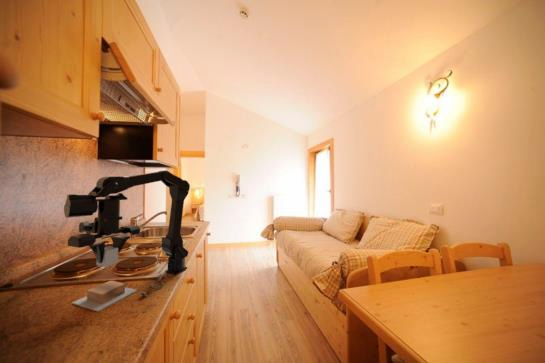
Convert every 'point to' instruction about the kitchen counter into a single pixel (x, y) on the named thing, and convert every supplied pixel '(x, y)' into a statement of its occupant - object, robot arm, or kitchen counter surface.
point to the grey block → (109, 256)
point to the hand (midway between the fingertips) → (107, 260)
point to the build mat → (98, 307)
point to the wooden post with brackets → (153, 286)
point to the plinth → (105, 292)
